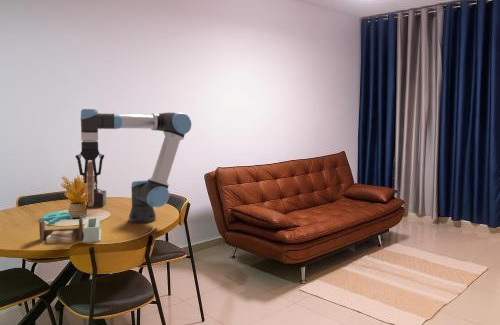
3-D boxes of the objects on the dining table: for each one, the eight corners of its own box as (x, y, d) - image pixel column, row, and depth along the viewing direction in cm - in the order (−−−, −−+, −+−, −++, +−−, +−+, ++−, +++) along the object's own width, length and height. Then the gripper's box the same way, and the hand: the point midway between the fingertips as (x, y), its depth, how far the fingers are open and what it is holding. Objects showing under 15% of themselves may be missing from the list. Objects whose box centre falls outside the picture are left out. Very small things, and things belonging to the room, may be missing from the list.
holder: (101, 230, 208) (101, 217, 207) (100, 241, 190) (100, 227, 189) (84, 231, 206) (84, 218, 205) (82, 242, 187) (81, 228, 187)
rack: (82, 235, 199) (82, 215, 198) (81, 239, 192) (81, 219, 191) (42, 237, 193) (42, 217, 192) (40, 242, 186) (39, 222, 185)
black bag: (89, 204, 268) (89, 177, 266) (106, 203, 270) (106, 177, 267) (82, 209, 253) (82, 181, 251) (100, 209, 254) (100, 181, 252)
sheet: (92, 206, 189) (91, 164, 187) (88, 206, 188) (87, 164, 186) (93, 200, 203) (93, 161, 201) (89, 200, 202) (88, 161, 200)
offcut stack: (76, 239, 193) (76, 230, 193) (73, 242, 189) (73, 233, 188) (49, 240, 191) (49, 231, 191) (46, 243, 186) (46, 234, 186)
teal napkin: (85, 219, 231) (68, 213, 244) (85, 215, 231) (68, 209, 244) (50, 225, 216) (34, 219, 229) (50, 221, 216) (34, 215, 228)
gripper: (106, 140, 198) (107, 187, 201) (73, 140, 193) (74, 188, 196) (106, 141, 191) (107, 190, 194) (72, 141, 186) (73, 191, 189)
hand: (90, 189), depth 195 cm, fingers closed on sheet, 2 cm apart
